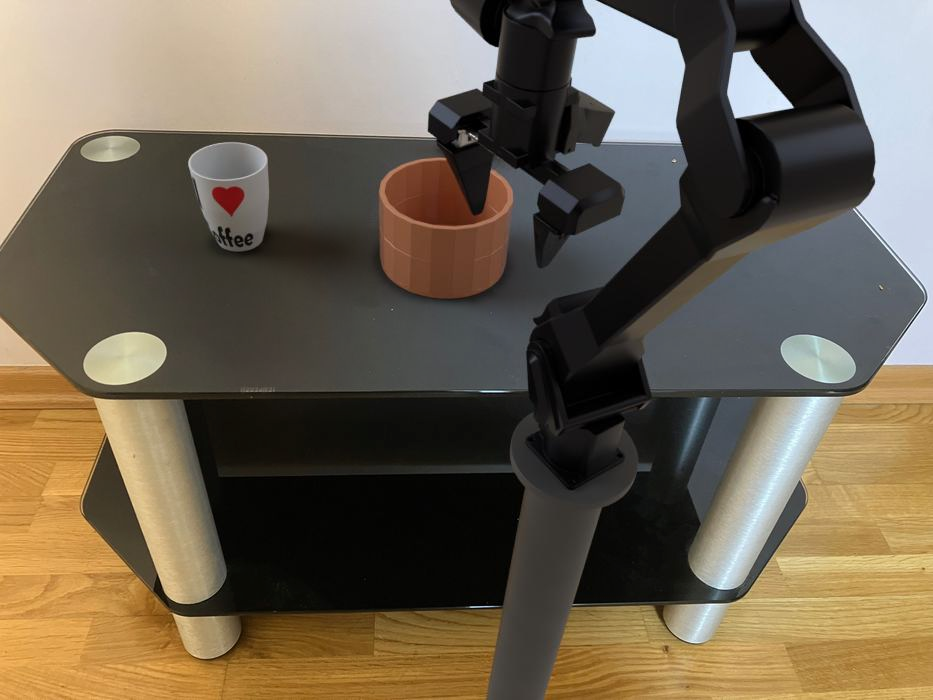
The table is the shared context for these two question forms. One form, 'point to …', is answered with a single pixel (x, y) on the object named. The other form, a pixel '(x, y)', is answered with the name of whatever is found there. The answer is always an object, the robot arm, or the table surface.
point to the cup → (232, 192)
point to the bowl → (441, 231)
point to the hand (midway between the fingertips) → (508, 239)
